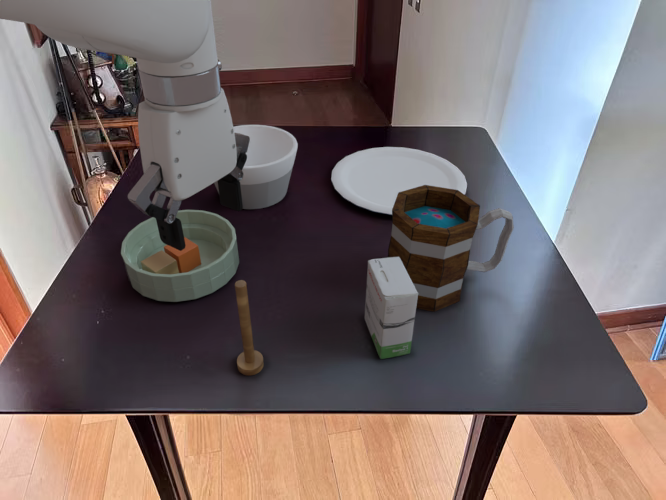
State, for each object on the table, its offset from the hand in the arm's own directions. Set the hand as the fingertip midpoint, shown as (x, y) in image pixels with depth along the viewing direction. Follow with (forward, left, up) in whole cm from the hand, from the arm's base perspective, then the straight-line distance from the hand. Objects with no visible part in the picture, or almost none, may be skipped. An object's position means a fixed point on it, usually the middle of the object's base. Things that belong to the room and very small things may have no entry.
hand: (204, 225), depth 61 cm
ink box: (+17, -16, -22) cm, 32 cm away
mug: (+33, -16, -22) cm, 43 cm away
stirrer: (0, -5, -21) cm, 22 cm away
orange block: (+7, +19, -21) cm, 29 cm away
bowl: (+32, +29, -22) cm, 48 cm away
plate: (+55, +8, -22) cm, 60 cm away
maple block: (+2, +18, -21) cm, 27 cm away
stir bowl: (+7, +19, -21) cm, 29 cm away
